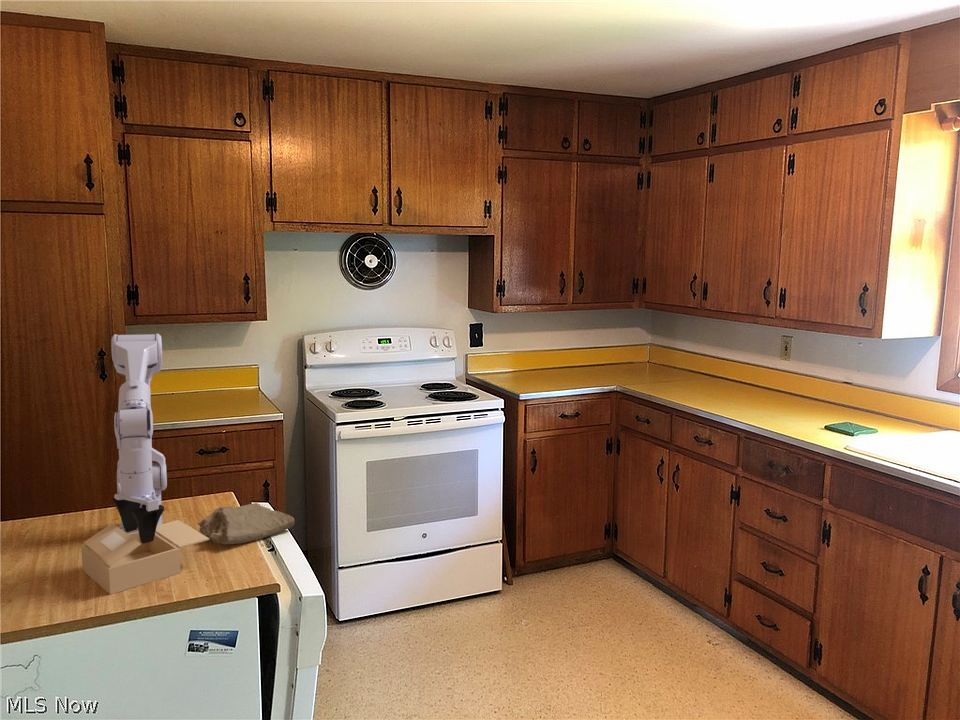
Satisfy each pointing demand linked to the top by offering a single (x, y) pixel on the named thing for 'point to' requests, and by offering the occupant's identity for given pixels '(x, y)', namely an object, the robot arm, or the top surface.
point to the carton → (142, 559)
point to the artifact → (244, 524)
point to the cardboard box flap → (112, 544)
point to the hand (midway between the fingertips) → (139, 536)
